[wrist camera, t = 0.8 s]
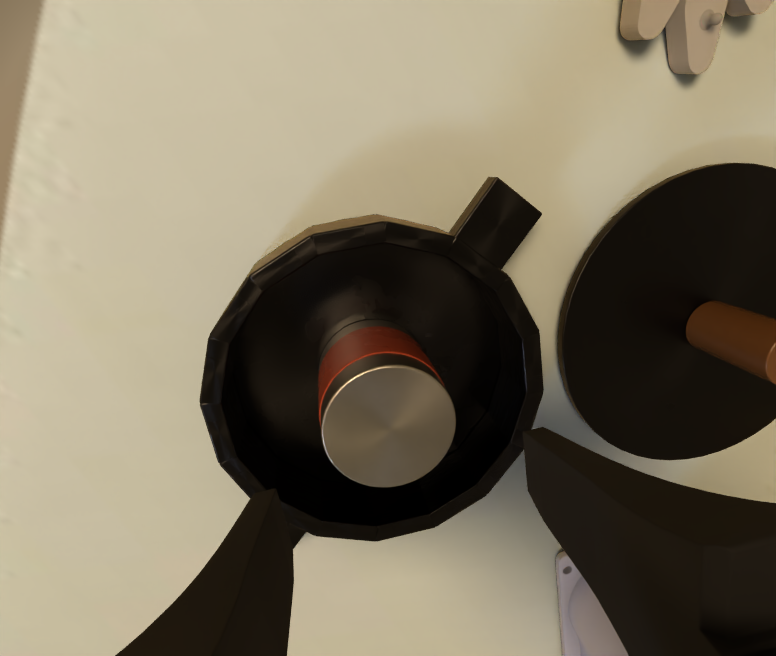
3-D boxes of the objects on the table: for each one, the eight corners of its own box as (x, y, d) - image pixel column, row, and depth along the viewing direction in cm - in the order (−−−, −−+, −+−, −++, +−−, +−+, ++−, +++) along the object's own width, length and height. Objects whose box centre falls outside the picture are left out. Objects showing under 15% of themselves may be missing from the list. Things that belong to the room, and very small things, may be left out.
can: (431, 405, 24) (465, 472, 19) (329, 428, 23) (334, 503, 18) (416, 307, 22) (448, 350, 17) (307, 330, 22) (305, 381, 17)
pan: (605, 279, 24) (649, 295, 20) (373, 572, 27) (382, 625, 24) (367, 89, 20) (377, 73, 17) (129, 458, 23) (100, 503, 20)
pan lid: (878, 278, 26) (1025, 306, 20) (686, 492, 28) (773, 566, 23) (698, 92, 22) (824, 66, 16) (491, 361, 24) (542, 415, 19)
